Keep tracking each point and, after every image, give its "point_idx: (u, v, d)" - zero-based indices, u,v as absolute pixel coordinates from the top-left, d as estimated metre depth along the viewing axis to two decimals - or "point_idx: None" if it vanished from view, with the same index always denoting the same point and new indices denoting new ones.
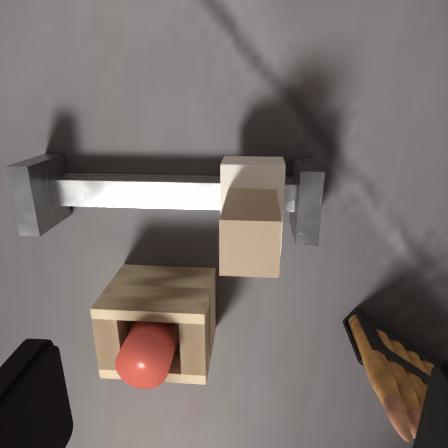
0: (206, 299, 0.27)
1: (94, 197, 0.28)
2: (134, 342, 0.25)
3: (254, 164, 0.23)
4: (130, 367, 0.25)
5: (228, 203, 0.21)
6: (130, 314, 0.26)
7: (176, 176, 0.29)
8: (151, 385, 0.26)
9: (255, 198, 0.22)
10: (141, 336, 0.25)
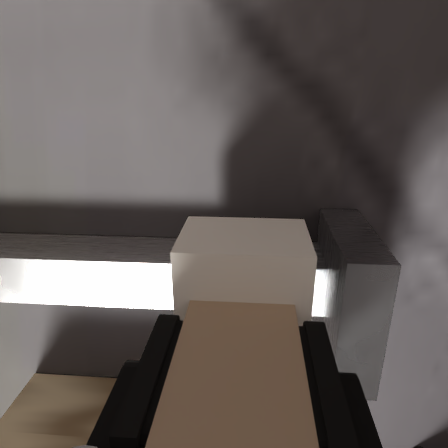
0: None
1: None
2: None
3: (246, 252, 0.10)
4: None
5: (177, 383, 0.08)
6: None
7: (108, 241, 0.16)
8: None
9: (247, 351, 0.09)
10: None
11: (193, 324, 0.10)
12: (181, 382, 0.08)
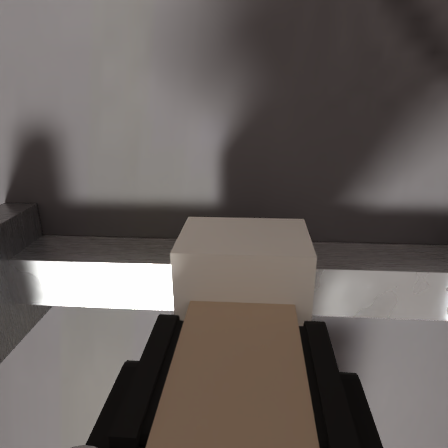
0: None
1: (93, 291, 0.15)
2: None
3: (246, 252, 0.10)
4: None
5: (178, 384, 0.08)
6: None
7: None
8: None
9: (247, 351, 0.09)
10: None
11: (193, 324, 0.10)
12: (181, 382, 0.08)
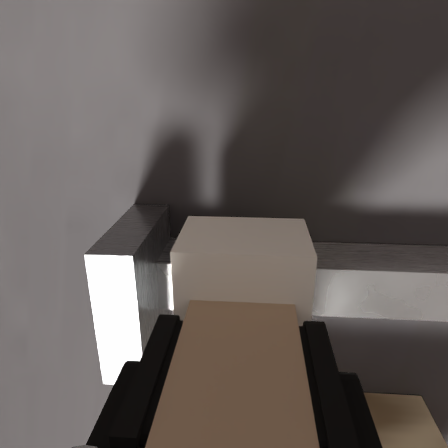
0: None
1: None
2: None
3: (246, 251, 0.10)
4: None
5: (178, 383, 0.08)
6: None
7: (390, 250, 0.15)
8: None
9: (247, 350, 0.09)
10: None
11: (193, 324, 0.10)
12: (181, 382, 0.08)
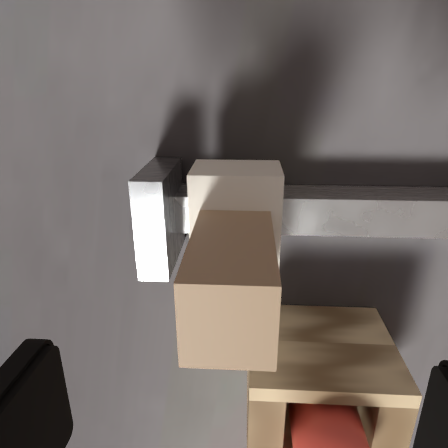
0: (403, 365, 0.19)
1: None
2: (329, 443, 0.17)
3: (237, 175, 0.16)
4: None
5: (196, 241, 0.13)
6: (308, 395, 0.18)
7: (347, 188, 0.21)
8: None
9: (238, 229, 0.14)
10: (334, 431, 0.17)
11: (203, 219, 0.15)
12: (198, 241, 0.13)
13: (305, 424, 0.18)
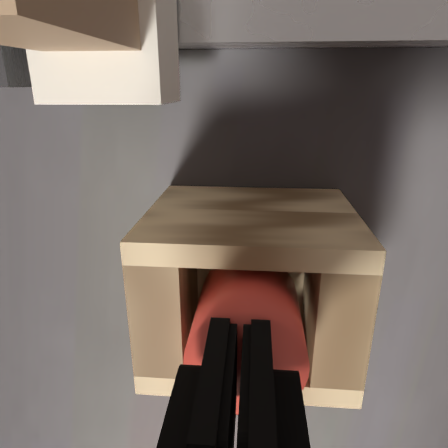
0: (364, 227, 0.13)
1: None
2: (231, 307, 0.11)
3: None
4: None
5: None
6: (211, 253, 0.12)
7: None
8: None
9: None
10: (243, 295, 0.11)
11: None
12: None
13: (207, 296, 0.12)
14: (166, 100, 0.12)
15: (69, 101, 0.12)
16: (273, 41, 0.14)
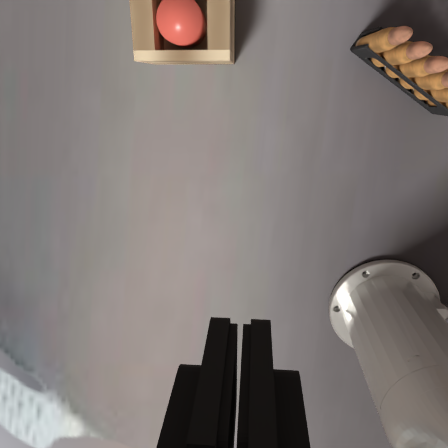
0: None
1: None
2: None
3: None
4: (169, 20, 0.30)
5: None
6: None
7: None
8: (186, 39, 0.30)
9: None
10: None
11: None
12: None
13: None
14: None
15: None
16: None
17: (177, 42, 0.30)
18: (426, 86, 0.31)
